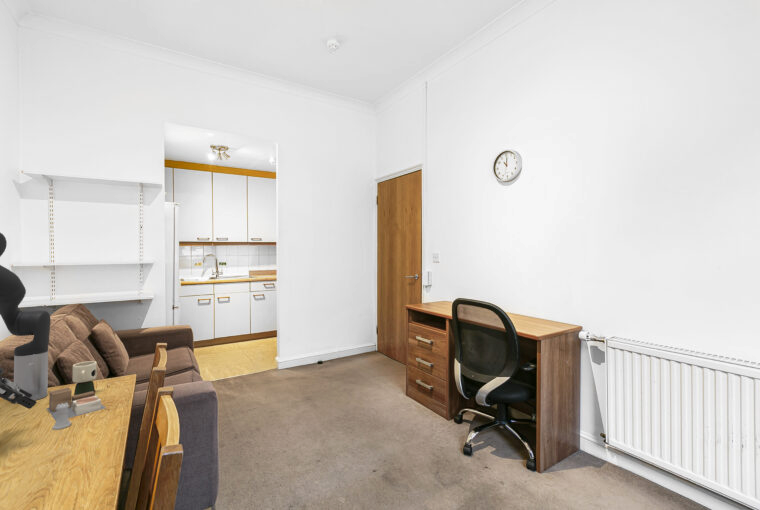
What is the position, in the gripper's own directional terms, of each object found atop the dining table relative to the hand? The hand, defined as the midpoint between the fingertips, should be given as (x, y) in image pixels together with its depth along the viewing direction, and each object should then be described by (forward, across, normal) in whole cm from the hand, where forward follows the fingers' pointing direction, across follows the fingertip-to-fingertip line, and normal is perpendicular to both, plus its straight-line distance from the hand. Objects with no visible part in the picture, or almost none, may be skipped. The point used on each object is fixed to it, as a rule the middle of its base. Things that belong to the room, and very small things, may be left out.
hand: (31, 401), depth 103 cm
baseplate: (+17, +14, -1) cm, 22 cm away
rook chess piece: (+13, 0, +3) cm, 13 cm away
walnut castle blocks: (+16, +19, -2) cm, 25 cm away
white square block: (+17, +10, -4) cm, 20 cm away
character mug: (+20, +28, -5) cm, 35 cm away
